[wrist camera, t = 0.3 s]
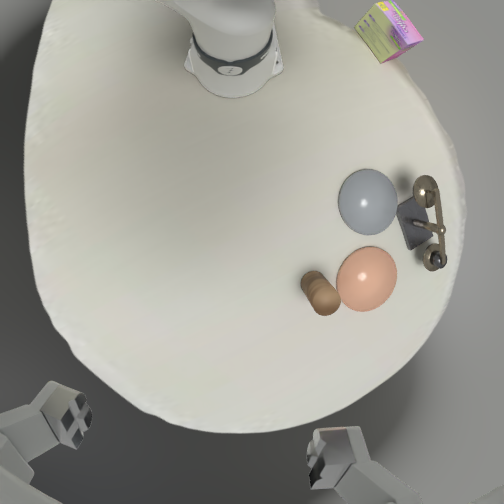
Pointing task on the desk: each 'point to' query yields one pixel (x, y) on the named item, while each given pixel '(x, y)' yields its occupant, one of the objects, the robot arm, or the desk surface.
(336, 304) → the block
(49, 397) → the robot arm
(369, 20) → the box
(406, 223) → the balance
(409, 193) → the desk surface
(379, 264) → the dish
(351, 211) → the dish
